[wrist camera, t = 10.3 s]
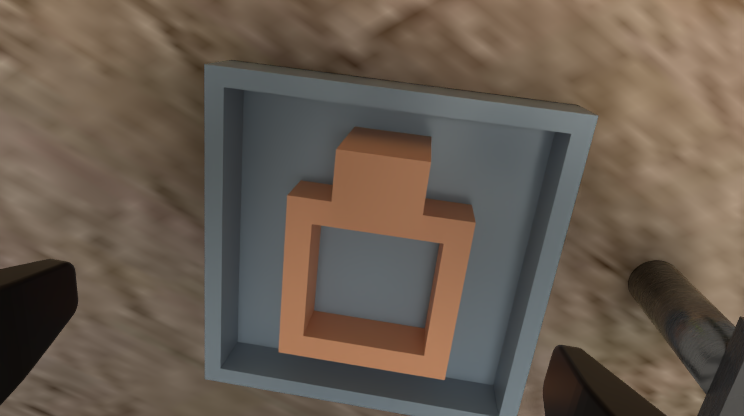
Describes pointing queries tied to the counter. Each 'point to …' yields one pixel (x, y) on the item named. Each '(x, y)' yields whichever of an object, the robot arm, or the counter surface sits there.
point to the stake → (695, 334)
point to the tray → (382, 252)
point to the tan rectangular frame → (380, 216)
